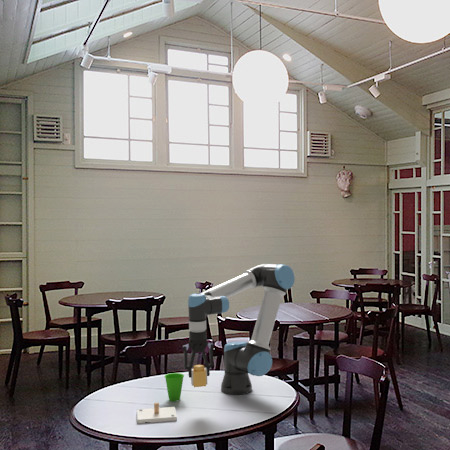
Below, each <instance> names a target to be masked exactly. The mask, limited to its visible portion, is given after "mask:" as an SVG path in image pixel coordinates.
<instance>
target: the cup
mask: <svg viewBox="0 0 450 450" xmlns="http://www.w3.org/2000/svg"><path fill="white" fill-rule="evenodd" d="M184 376H185V375H184V374H183V373H179V372H173V373H172V372H170V373H167V374H165V375H164V378H165V384H166V389H167V390H166V391H167V397H168V400H169V401H170V402H179V401H180V400H181V396H182V390H183V389H182V388H183V381H184Z"/></svg>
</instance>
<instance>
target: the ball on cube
mask: <svg viewBox="0 0 450 450" xmlns="http://www.w3.org/2000/svg"><path fill="white" fill-rule="evenodd" d="M204 368H205V365H203V364H196V365H193V367H192V369H193V378H194V386H193V388H201V387H207V385H206V371H205V369H204Z"/></svg>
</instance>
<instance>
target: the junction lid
mask: <svg viewBox="0 0 450 450" xmlns="http://www.w3.org/2000/svg"><path fill="white" fill-rule="evenodd" d="M136 411H137V412H136V413H137V414H136V415H137V416H136V418H137V420H136V421H137V423H138V424H146V423H145V422H151V423H162V422H176V421H177V420H178V416H177V411H176V408H175V406H168V407H160V403H159V402H154V404H153V408H152V407H150V408H140V409H136Z"/></svg>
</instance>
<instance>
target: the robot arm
mask: <svg viewBox="0 0 450 450" xmlns="http://www.w3.org/2000/svg"><path fill="white" fill-rule="evenodd" d="M295 280H296V278H295V273H294V270H293V269H292V267H290V266H289V265H288V264H283V263H269V262H267V263H266V262H265V263H261V264H258V265H256V266H253V267H251V268H248V269H246V270H244V271H243V273H242V274H241V275H238V276H235V277H234V278H231V279H229V280H227V281H224V282H222V283H221V284H218V285H216V286H214V287H211V288H209V289H207V290H204V291H202V292H200V293H197V292H196V293H191V294H189V296H188V299H187V307H188V329H189V332H188V334H189V336H188V337H189V340H188V343H187V344H183V345H182V348H183V368H184V369H185V370H188V371H187V372H188V378H190V381H191V382H190V384H191V386H193V387H194V378H193V366H194V360H195V357H196V353H197V354H198V353H201V355H202V358H203V361H204V364H205V365H204V366H205V367H204V369H205V371H206V386H207V385H208V377H210V374H211V373H210V369H211V368H213V367H214V346H215V344H214V343H213V342H208V339H207V338H208V337H207V336H208V335H207V333H208V332H207V331H208V330H207V316H211V315H216V314H217V315H218V314H224V313H226V312H228V311H229V309H230V301H229V298H231V297H233V296H235V295H237V294H240V293H241V292H244V291H246V290H248V289H254V288H255V289H256V288H257V287H262V289H263V290H264V293H263V297H262V301H261V303H260V306H259V311H258V314H257V318H256V321H255V325H254V327H253V332H252V335H251V338H250V340H248V341H233V342H228V343H226V344H225V345H224V347H223V355H224V356H223V360H224V361H223V362H224V375H223V378H222V381H221V385H220V390H221V391H220V392H222V393H225V394H228V395H244V394H243V393H245V394H248V393H247V392H249V393H251V392H252V391H253V385H252V381H251V379H250V376H253V377H254V376H255V377H263V376H265V375H266V374H268V372H270V370H271V368H272V366H273V357H272V355H271V354H270V353H271V347H270V345H269V344H270V340H271V338H272V334H273V330H274V327H275V322H276V319H277V315H278V312H279V308H280V306H281V301H282V297H284V296H285V295H286V294H287V290H290V289H291V288H292V287H294V284H295ZM189 348H190V349H191V355H190V359H189V364H188V350H189ZM206 348H209V349H208V350H209V352H208V353H209V361H208V358H207V355H206V351H205V350H206ZM251 390H252V391H251Z"/></svg>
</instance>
